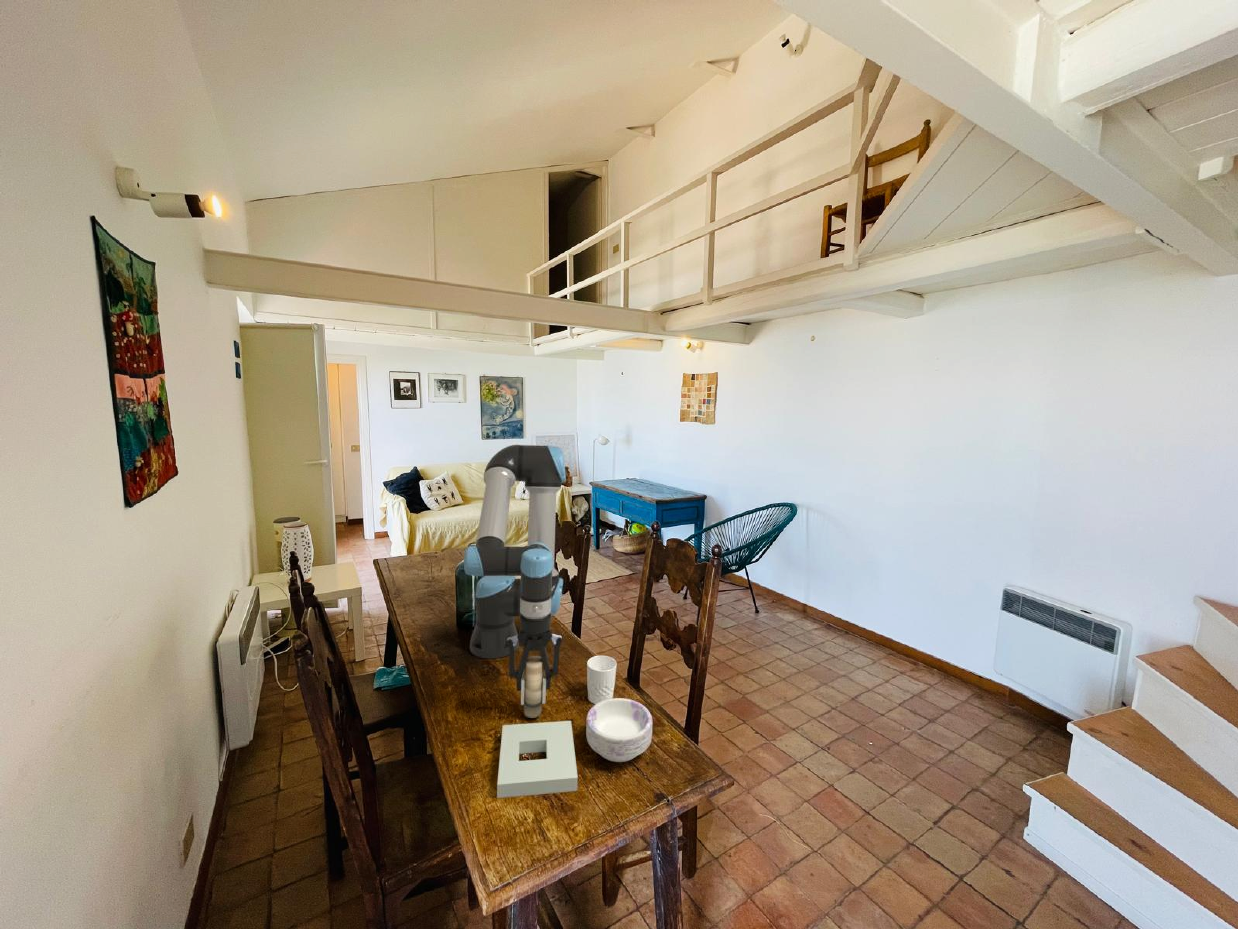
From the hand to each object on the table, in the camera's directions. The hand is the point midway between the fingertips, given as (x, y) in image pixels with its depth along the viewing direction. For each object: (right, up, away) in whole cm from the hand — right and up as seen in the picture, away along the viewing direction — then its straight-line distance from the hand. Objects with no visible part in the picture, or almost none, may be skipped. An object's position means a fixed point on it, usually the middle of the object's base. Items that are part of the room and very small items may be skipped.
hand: (533, 700), depth 124 cm
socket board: (+4, -6, -15) cm, 17 cm away
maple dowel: (0, -3, 0) cm, 3 cm away
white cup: (+17, -4, +9) cm, 19 cm away
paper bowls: (+21, -7, -9) cm, 24 cm away
